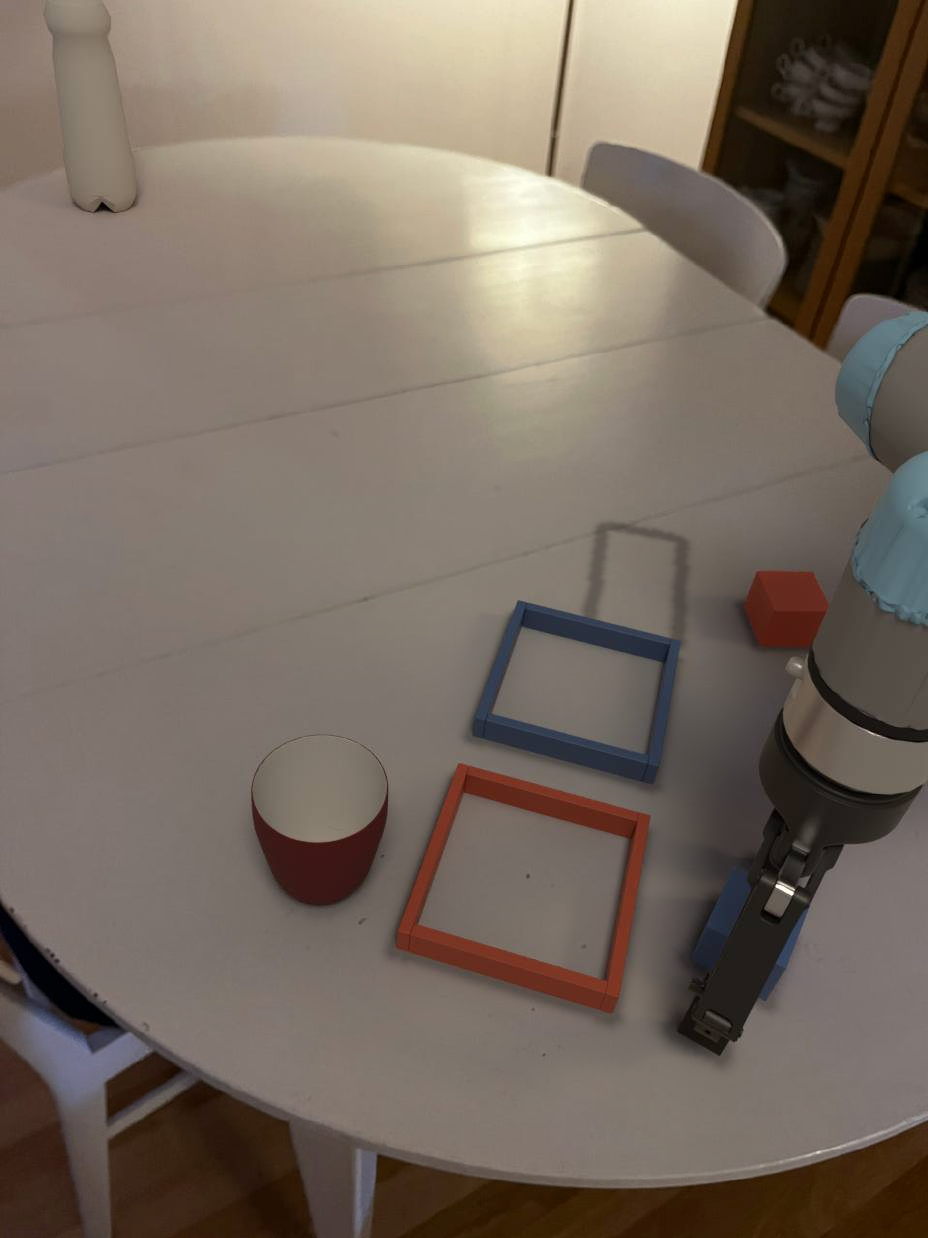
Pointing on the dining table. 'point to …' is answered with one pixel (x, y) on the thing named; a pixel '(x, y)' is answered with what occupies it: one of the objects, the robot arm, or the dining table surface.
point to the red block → (785, 608)
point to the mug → (320, 815)
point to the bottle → (90, 106)
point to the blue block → (724, 922)
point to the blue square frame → (567, 744)
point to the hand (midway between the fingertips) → (735, 954)
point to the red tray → (504, 962)
